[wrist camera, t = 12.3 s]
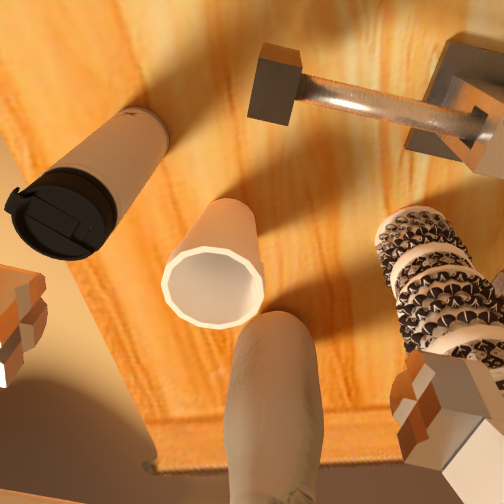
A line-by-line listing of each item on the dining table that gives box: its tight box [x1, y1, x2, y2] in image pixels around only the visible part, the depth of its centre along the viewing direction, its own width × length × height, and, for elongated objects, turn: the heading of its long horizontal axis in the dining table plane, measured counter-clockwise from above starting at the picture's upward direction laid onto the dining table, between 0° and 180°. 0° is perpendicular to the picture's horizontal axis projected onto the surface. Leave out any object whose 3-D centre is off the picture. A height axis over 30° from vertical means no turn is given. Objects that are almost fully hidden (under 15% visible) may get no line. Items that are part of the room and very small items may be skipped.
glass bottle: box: [223, 311, 324, 504], centre depth 47 cm, size 10×10×28 cm
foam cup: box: [161, 198, 265, 329], centre depth 45 cm, size 10×9×13 cm
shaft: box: [247, 43, 487, 142], centre depth 34 cm, size 4×19×8 cm, turn 78°
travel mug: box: [4, 107, 169, 261], centre depth 37 cm, size 6×7×20 cm
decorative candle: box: [375, 205, 504, 398], centre depth 39 cm, size 9×9×25 cm
